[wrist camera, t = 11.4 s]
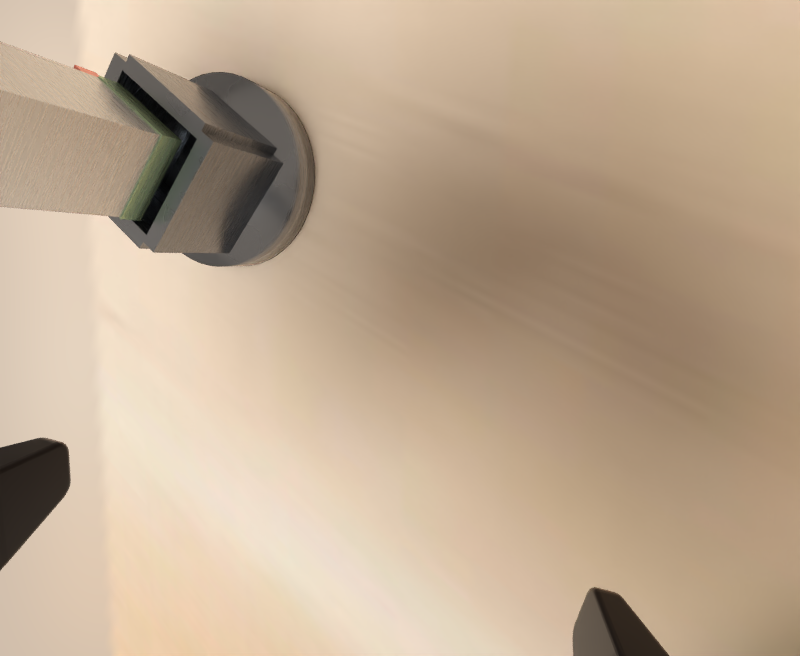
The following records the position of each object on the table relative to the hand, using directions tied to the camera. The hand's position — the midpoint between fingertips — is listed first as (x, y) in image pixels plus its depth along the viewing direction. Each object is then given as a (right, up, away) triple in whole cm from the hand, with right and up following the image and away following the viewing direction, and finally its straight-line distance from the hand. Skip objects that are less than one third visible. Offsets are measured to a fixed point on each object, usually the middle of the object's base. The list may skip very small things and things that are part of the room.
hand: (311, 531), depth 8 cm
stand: (-6, +10, +14) cm, 18 cm away
